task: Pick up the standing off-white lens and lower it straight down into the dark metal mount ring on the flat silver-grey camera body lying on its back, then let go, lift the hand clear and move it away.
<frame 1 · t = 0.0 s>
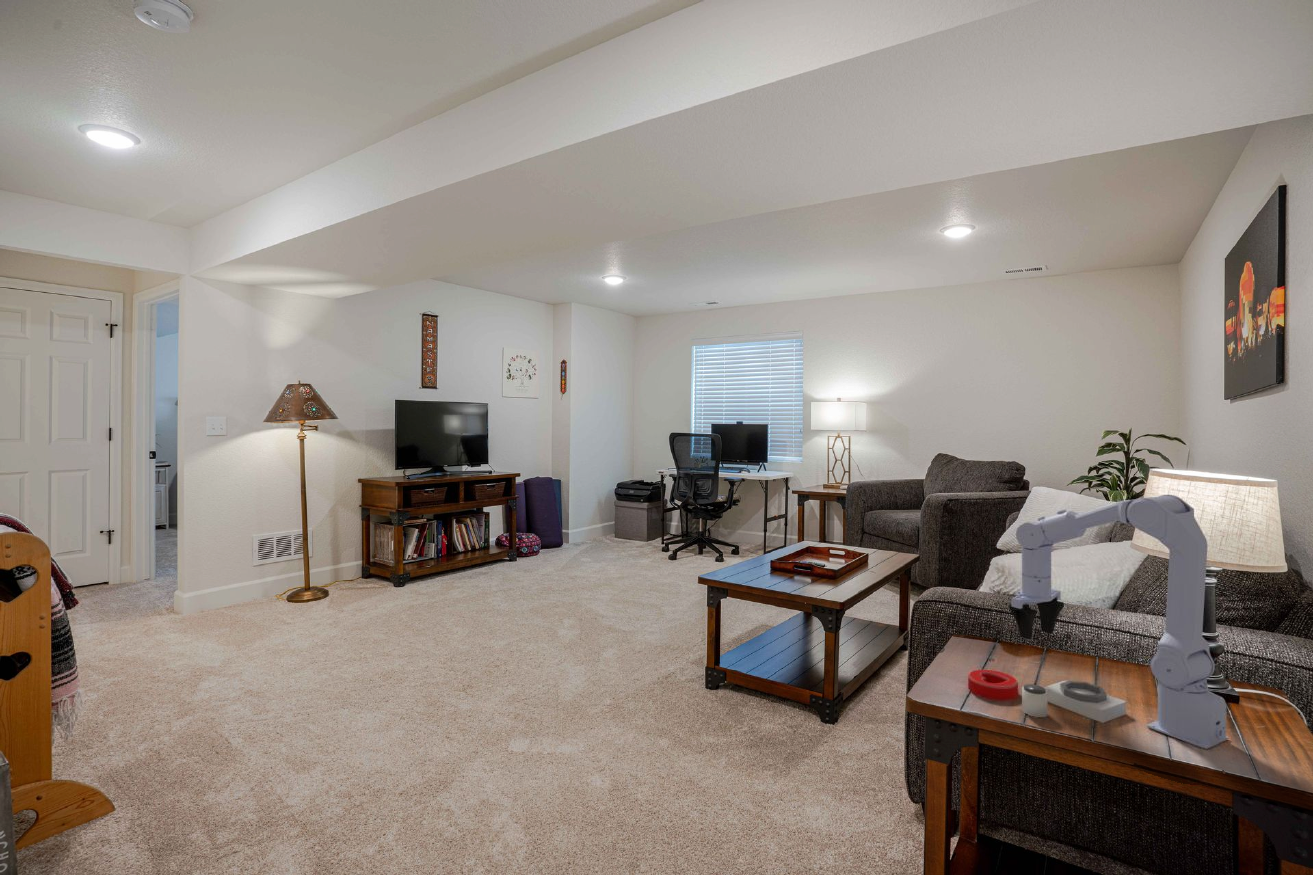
hand: (1036, 634, 146), 10 cm above the table, tool pointing down, fingers open, 7 cm apart
lens: (1034, 712, 130), on the table
decorative ornament: (992, 692, 140), on the table
camera body: (1083, 706, 132), on the table
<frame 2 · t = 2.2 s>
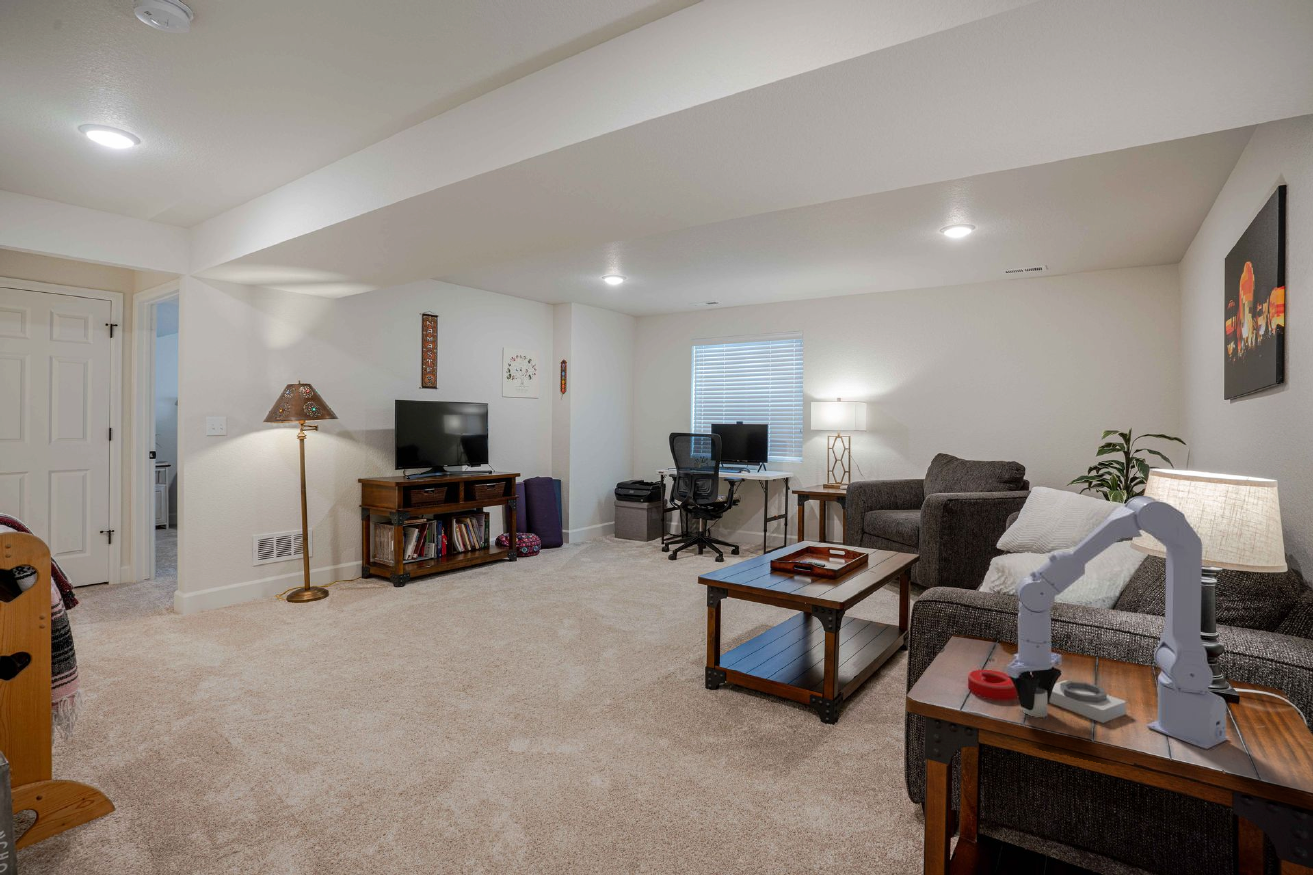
hand: (1034, 705, 130), 1 cm above the table, tool pointing down, fingers closed on lens, 4 cm apart
lens: (1034, 712, 130), on the table, touching gripper
everything else where it was.
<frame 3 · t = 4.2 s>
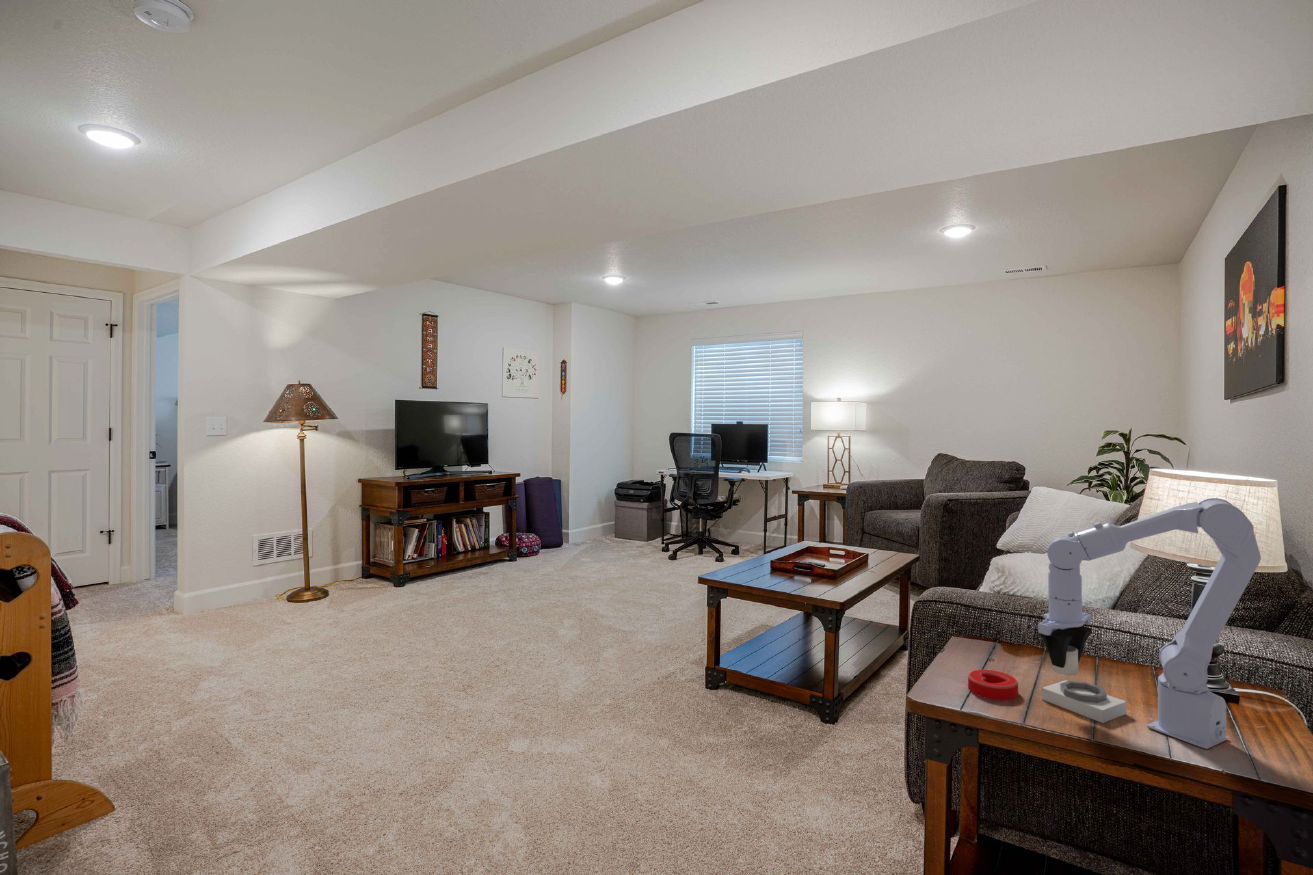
hand: (1065, 663, 131), 9 cm above the table, tool pointing down, fingers closed on lens, 4 cm apart
lens: (1065, 670, 131), point 8 cm above the table, touching gripper
everything else where it was.
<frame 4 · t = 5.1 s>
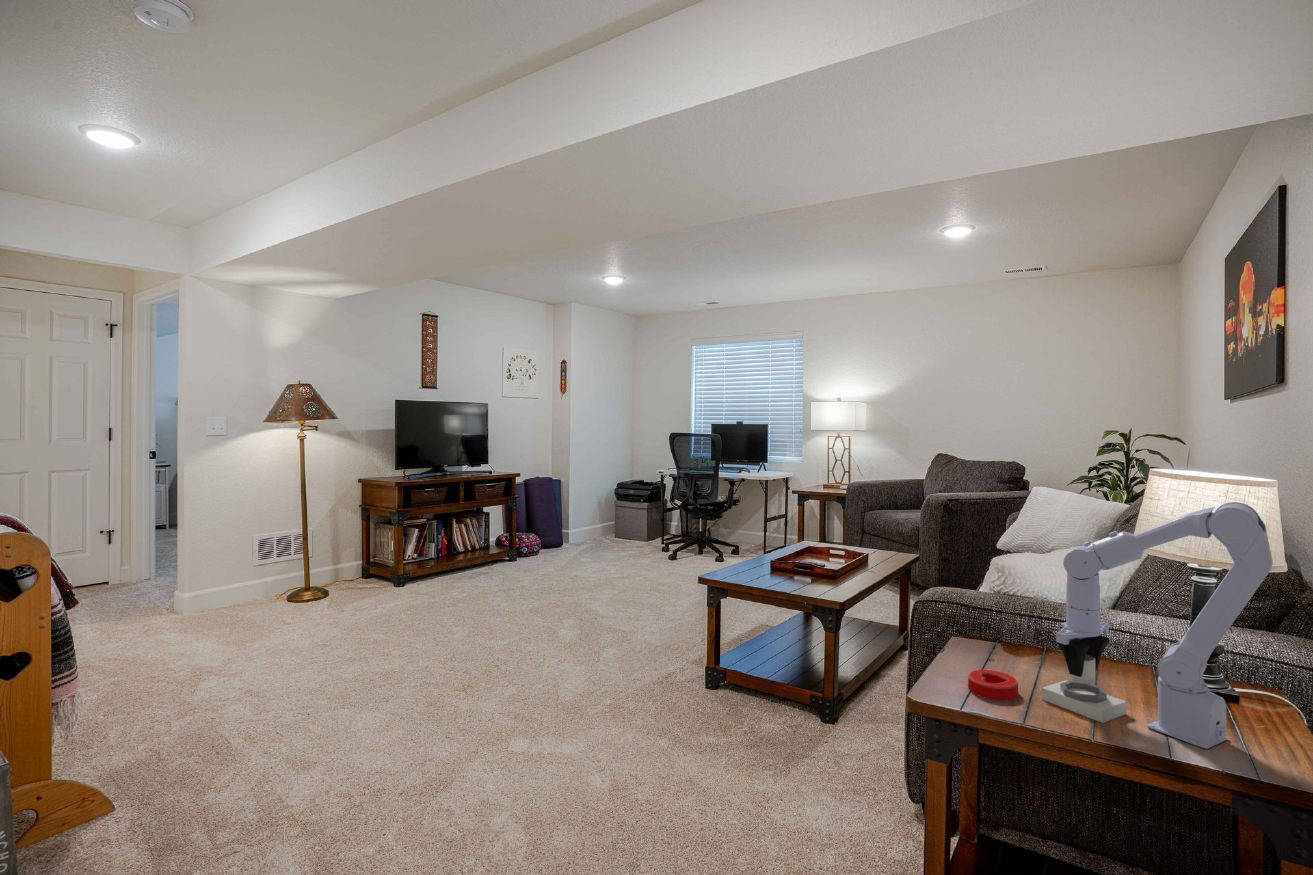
hand: (1082, 672, 132), 7 cm above the table, tool pointing down, fingers closed on lens, 4 cm apart
lens: (1082, 679, 132), point 6 cm above the table, touching gripper
everything else where it was.
when the fingers open (5 cm above the table, at t = 6.0 s): lens stays where it is, resting on camera body.
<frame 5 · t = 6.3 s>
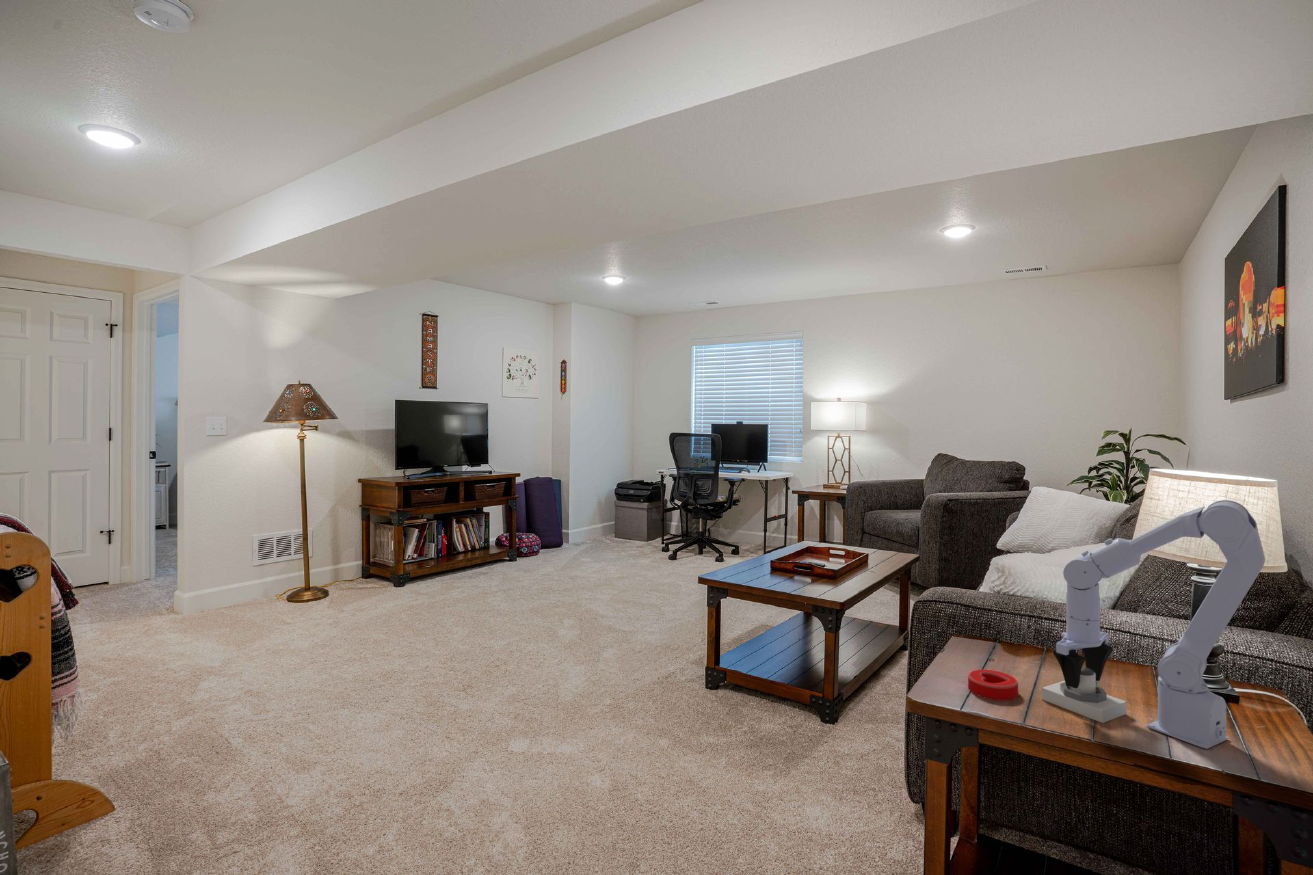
hand: (1083, 682, 132), 5 cm above the table, tool pointing down, fingers open, 7 cm apart
lens: (1082, 694, 132), point 3 cm above the table, touching camera body
everything else where it was.
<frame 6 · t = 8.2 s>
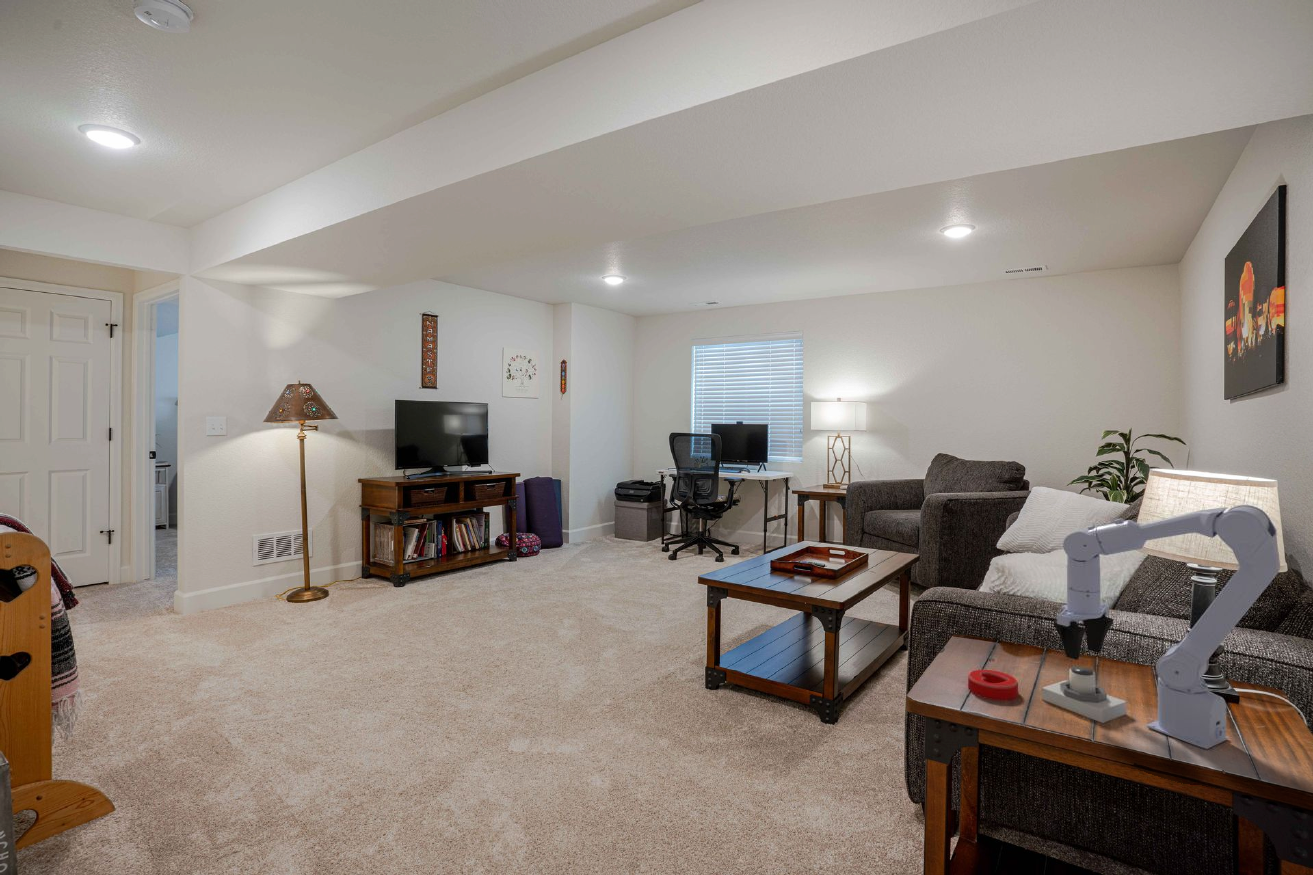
hand: (1083, 654, 133), 10 cm above the table, tool pointing down, fingers open, 7 cm apart
nothing on the table moved.
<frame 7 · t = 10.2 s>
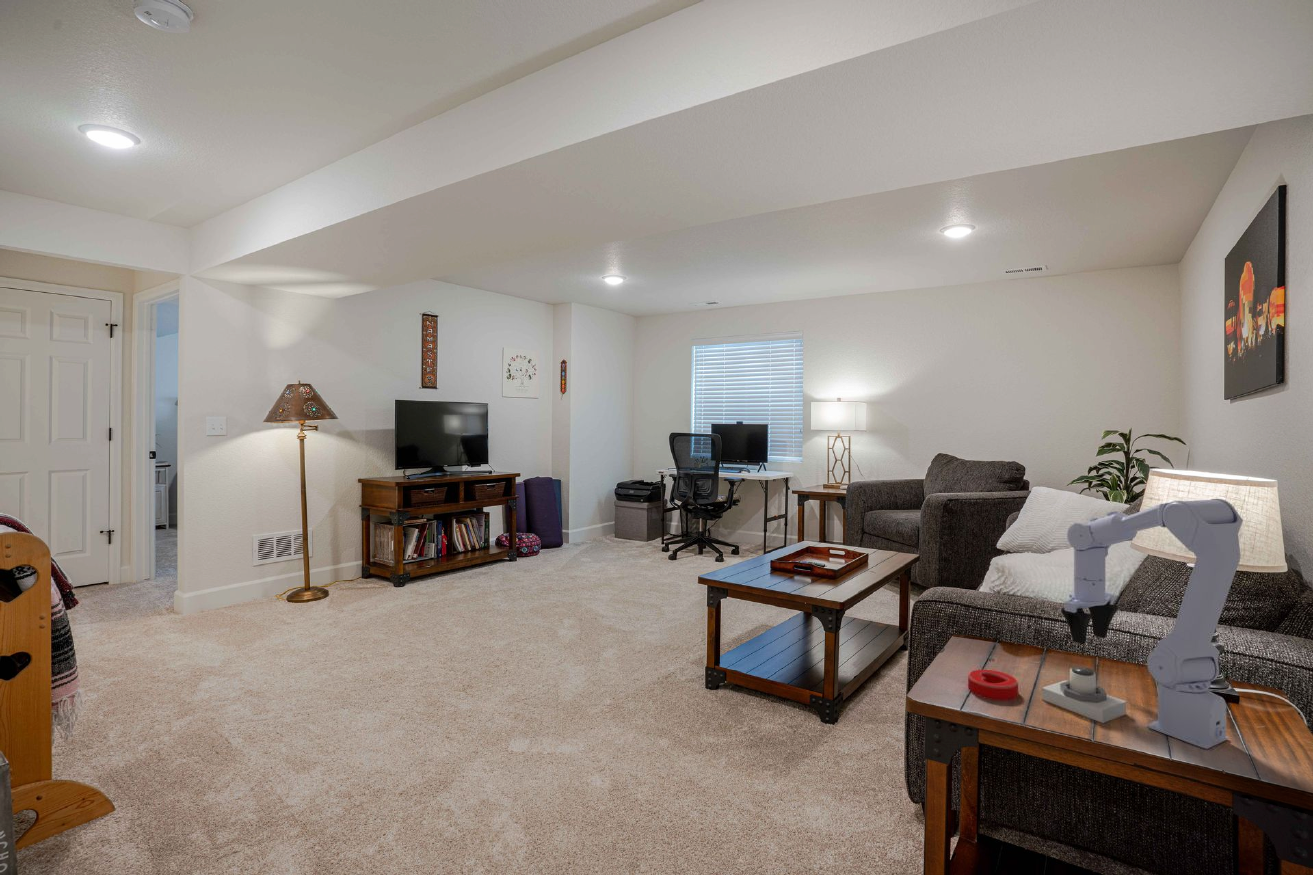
hand: (1089, 639, 141), 10 cm above the table, tool pointing down, fingers open, 7 cm apart
nothing on the table moved.
at the end: lens 0.1 cm off-centre on the camera body, point 2.6 cm above the camera body's base; lens tilted 2°; the gripper is holding nothing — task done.
